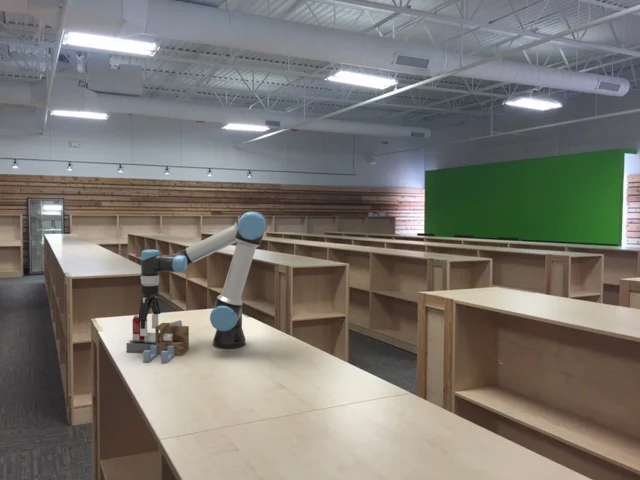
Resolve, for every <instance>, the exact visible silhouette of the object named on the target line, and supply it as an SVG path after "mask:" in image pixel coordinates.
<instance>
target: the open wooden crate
mask: <svg viewBox="0 0 640 480" xmlns="http://www.w3.org/2000/svg"><path fill="white" fill-rule="evenodd" d="M169 323H170V322H162V323H160V324H158V326H157V327H155V329H154V330H155V332H154V333H155V334H156V345H157V356H161V351H167V347H168V346H174V356H180V357H181V356H183V357H184V355H185V354H186V353H187V352H188V351H190V347H189V345H190V341H189V340H190V339H189V336H190V332H189V331H190V330H189V328H190V326H189V325H182V326H169ZM159 333H160V342H159ZM163 333H174V335H175V341H174V343H168V342H163Z"/></svg>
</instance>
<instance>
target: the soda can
mask: <svg viewBox="0 0 640 480" xmlns="http://www.w3.org/2000/svg"><path fill="white" fill-rule="evenodd" d="M138 316H139V314H136V315H133V318H132V321H131V322H132V341H144V337H145V336H140V321H138ZM146 321H147V322H148V318H147V319H146Z"/></svg>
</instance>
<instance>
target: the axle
mask: <svg viewBox="0 0 640 480" xmlns="http://www.w3.org/2000/svg"><path fill="white" fill-rule="evenodd" d="M174 341H175V335H174V333H163V342H168V343H174ZM144 342H145V344H156V334H155V332H147V336H145V337H144ZM159 342H160V332H159Z"/></svg>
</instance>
